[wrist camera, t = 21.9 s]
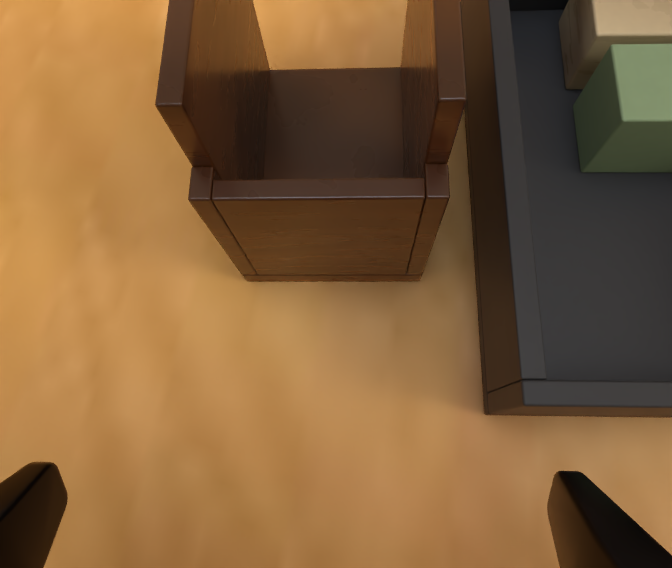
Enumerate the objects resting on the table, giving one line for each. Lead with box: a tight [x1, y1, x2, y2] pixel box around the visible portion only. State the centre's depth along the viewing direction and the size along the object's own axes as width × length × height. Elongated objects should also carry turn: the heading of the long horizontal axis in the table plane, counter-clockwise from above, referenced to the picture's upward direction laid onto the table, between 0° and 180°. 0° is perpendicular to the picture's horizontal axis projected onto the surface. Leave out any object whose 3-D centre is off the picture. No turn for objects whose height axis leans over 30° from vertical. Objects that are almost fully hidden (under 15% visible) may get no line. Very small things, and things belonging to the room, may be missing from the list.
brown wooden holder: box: [155, 0, 467, 281], centre depth 17 cm, size 9×7×10 cm
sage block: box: [573, 44, 672, 172], centre depth 19 cm, size 3×4×3 cm
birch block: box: [559, 0, 672, 89], centre depth 20 cm, size 3×4×3 cm
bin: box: [460, 0, 672, 417], centre depth 18 cm, size 17×11×5 cm, turn 179°
